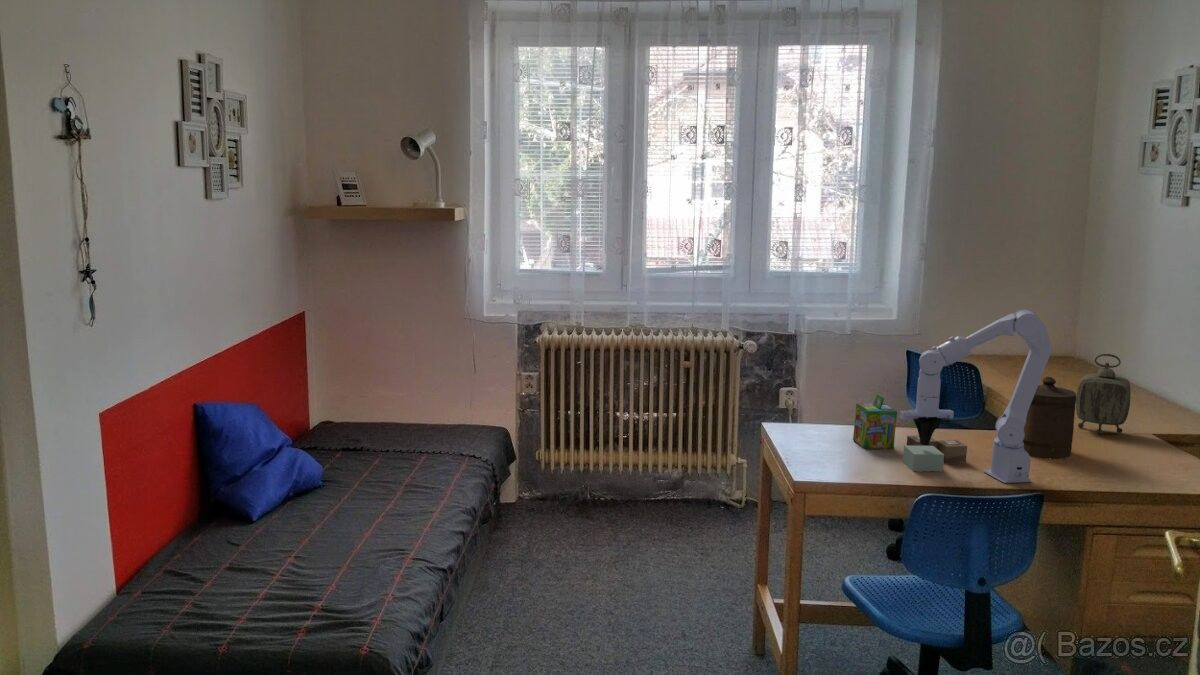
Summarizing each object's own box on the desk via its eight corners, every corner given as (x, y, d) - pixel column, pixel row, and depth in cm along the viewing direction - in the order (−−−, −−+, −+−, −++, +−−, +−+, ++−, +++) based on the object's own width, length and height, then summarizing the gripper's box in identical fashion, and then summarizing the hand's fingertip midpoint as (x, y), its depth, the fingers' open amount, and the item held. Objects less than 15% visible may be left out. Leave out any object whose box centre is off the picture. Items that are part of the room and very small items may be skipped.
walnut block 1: (936, 458, 249) (937, 440, 248) (915, 458, 248) (917, 441, 247) (925, 452, 255) (927, 434, 254) (906, 452, 254) (907, 435, 253)
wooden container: (1030, 441, 266) (1037, 369, 262) (1080, 453, 254) (1089, 379, 251) (1003, 449, 258) (1010, 375, 254) (1054, 462, 246) (1062, 385, 242)
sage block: (942, 472, 237) (944, 454, 236) (912, 472, 237) (914, 454, 236) (931, 463, 245) (933, 445, 244) (902, 462, 245) (904, 445, 244)
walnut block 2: (965, 463, 245) (967, 445, 244) (945, 464, 244) (946, 445, 243) (954, 456, 251) (956, 439, 250) (934, 457, 250) (935, 439, 249)
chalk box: (852, 440, 265) (855, 392, 262) (881, 440, 266) (885, 392, 263) (864, 449, 256) (867, 400, 253) (895, 449, 257) (898, 399, 254)
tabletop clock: (1126, 433, 277) (1135, 354, 272) (1125, 440, 269) (1135, 359, 265) (1074, 426, 284) (1082, 349, 280) (1072, 432, 276) (1080, 354, 272)
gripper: (945, 391, 242) (941, 439, 245) (895, 392, 240) (892, 440, 242) (959, 397, 235) (955, 446, 238) (908, 398, 233) (904, 448, 236)
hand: (924, 444), depth 240 cm, fingers closed
